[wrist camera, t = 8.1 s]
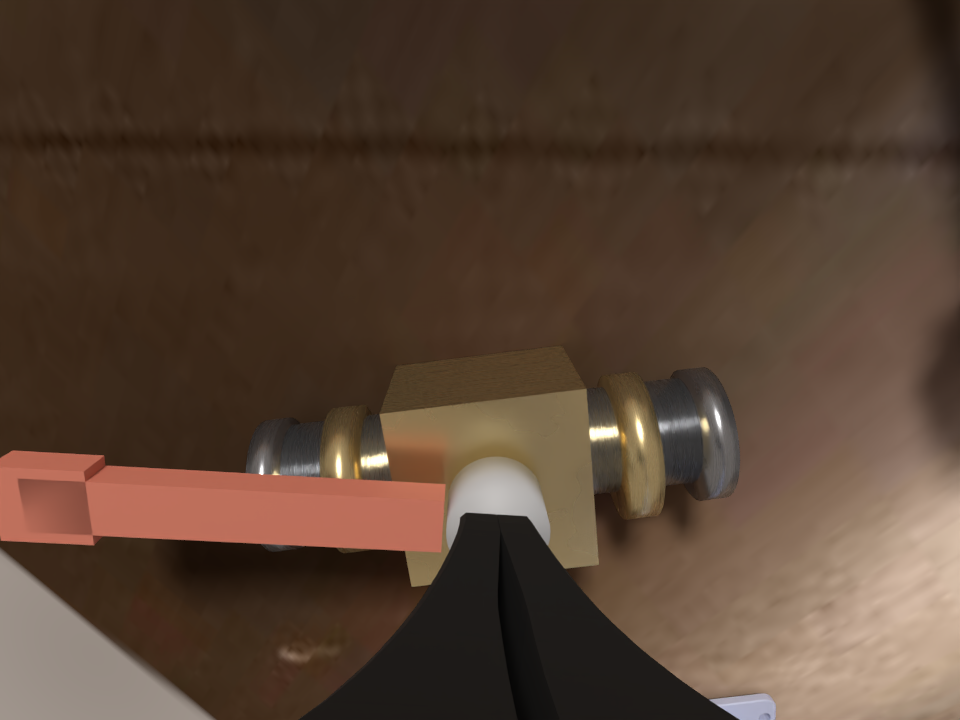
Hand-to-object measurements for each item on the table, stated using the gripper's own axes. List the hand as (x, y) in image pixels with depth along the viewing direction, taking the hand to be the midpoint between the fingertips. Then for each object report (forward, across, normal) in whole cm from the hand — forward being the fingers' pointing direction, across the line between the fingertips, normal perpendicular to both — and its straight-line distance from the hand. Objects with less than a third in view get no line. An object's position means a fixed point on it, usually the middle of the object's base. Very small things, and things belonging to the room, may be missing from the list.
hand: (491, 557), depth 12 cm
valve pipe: (+10, 0, +2) cm, 10 cm away
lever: (+5, +5, +2) cm, 8 cm away
